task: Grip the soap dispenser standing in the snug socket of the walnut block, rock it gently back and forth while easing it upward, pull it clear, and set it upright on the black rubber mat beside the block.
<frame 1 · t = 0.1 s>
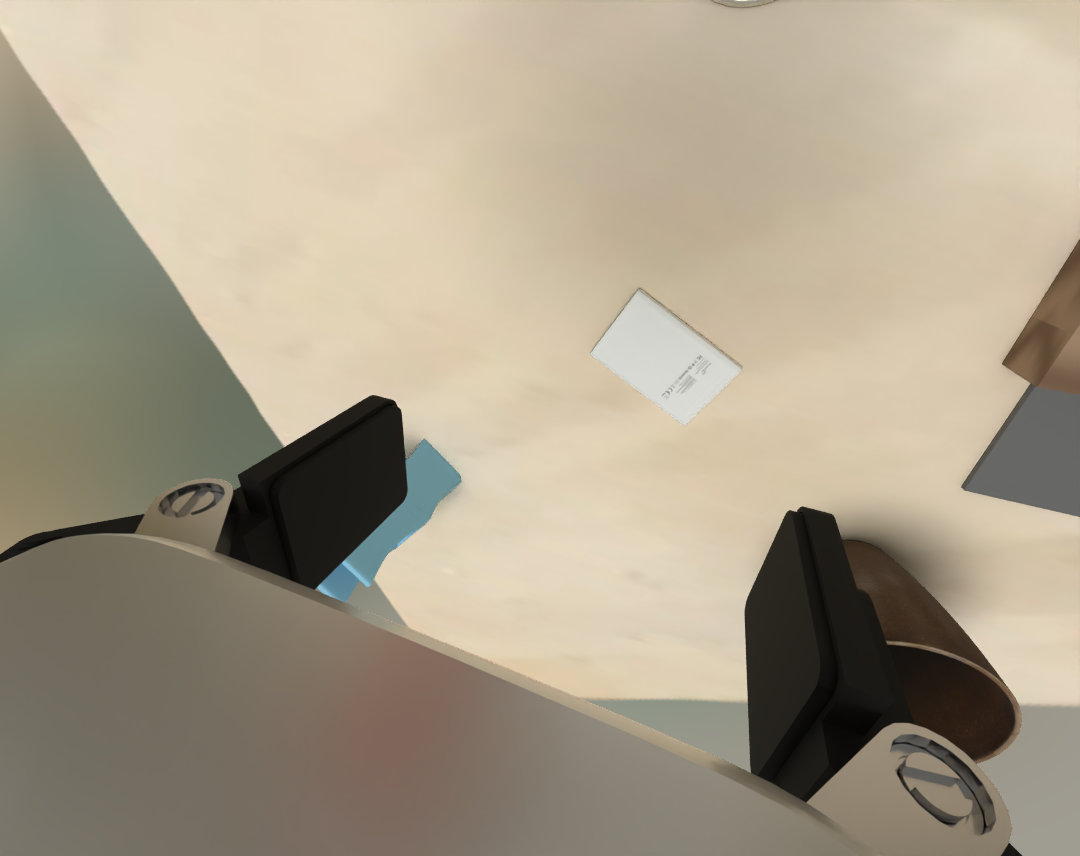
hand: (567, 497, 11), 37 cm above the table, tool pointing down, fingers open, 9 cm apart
light blue angular piece: (430, 472, 65), on the table
external hard drive: (663, 356, 47), on the table
rubber mat: (1076, 451, 37), on the table
plant pot: (849, 566, 49), on the table
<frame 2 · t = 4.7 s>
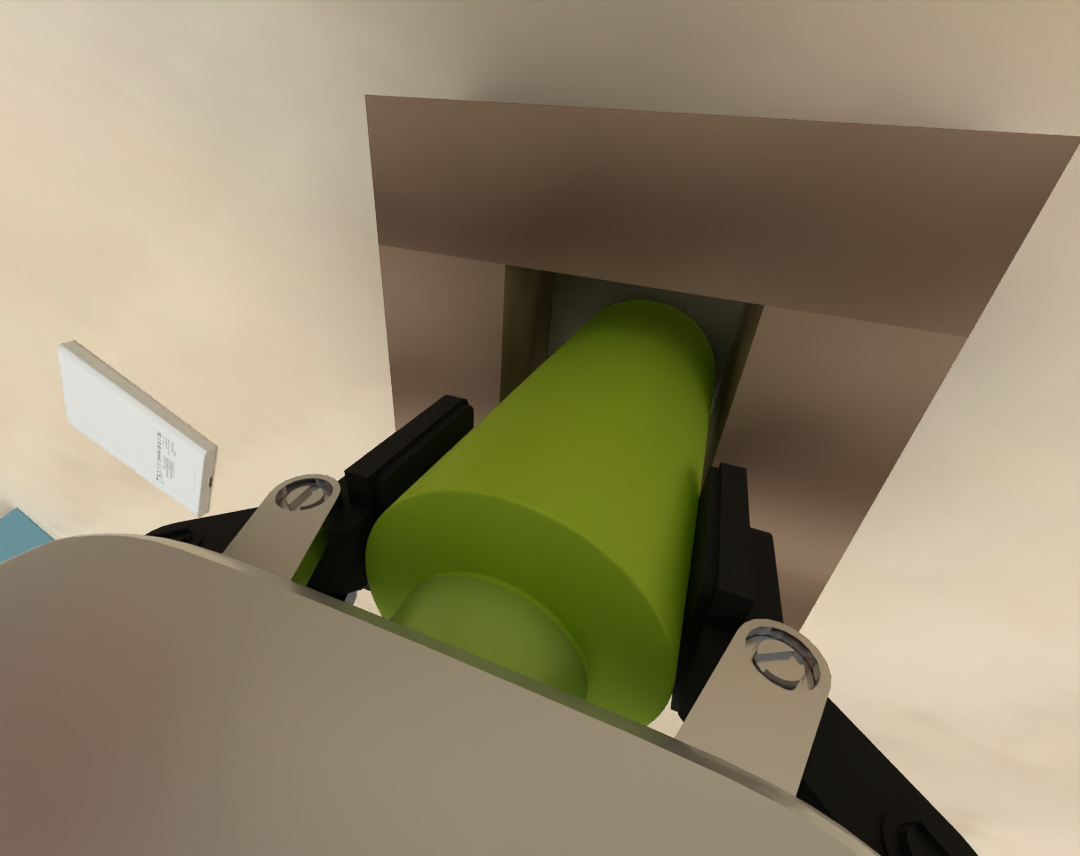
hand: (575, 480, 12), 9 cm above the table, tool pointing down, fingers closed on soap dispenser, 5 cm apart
soap dispenser: (631, 361, 19), resting in socket block, touching gripper
socket block: (630, 362, 19), on the table
light blue angular piece: (46, 545, 53), on the table
external hard drive: (156, 427, 35), on the table
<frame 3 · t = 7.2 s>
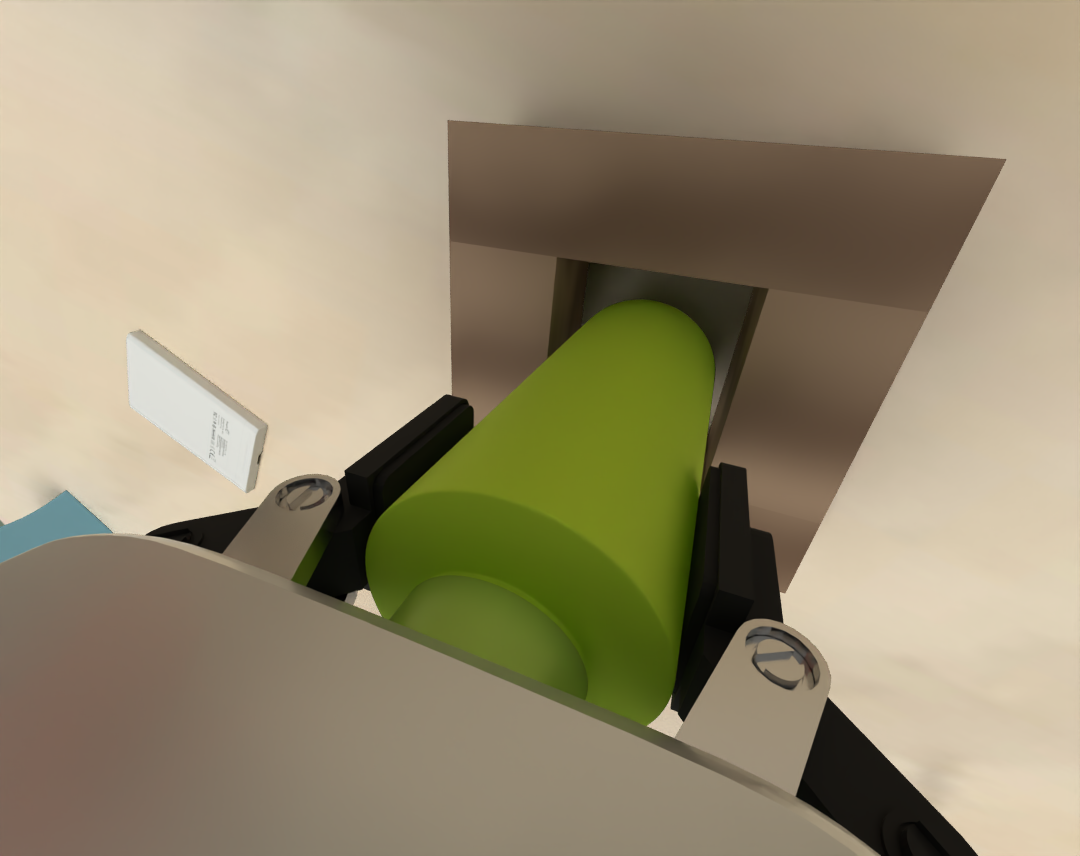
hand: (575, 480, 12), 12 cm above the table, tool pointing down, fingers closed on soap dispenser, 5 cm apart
soap dispenser: (630, 361, 19), point 3 cm above the table, touching gripper
socket block: (652, 344, 22), on the table
light blue angular piece: (91, 526, 56), on the table
external hard drive: (209, 410, 38), on the table
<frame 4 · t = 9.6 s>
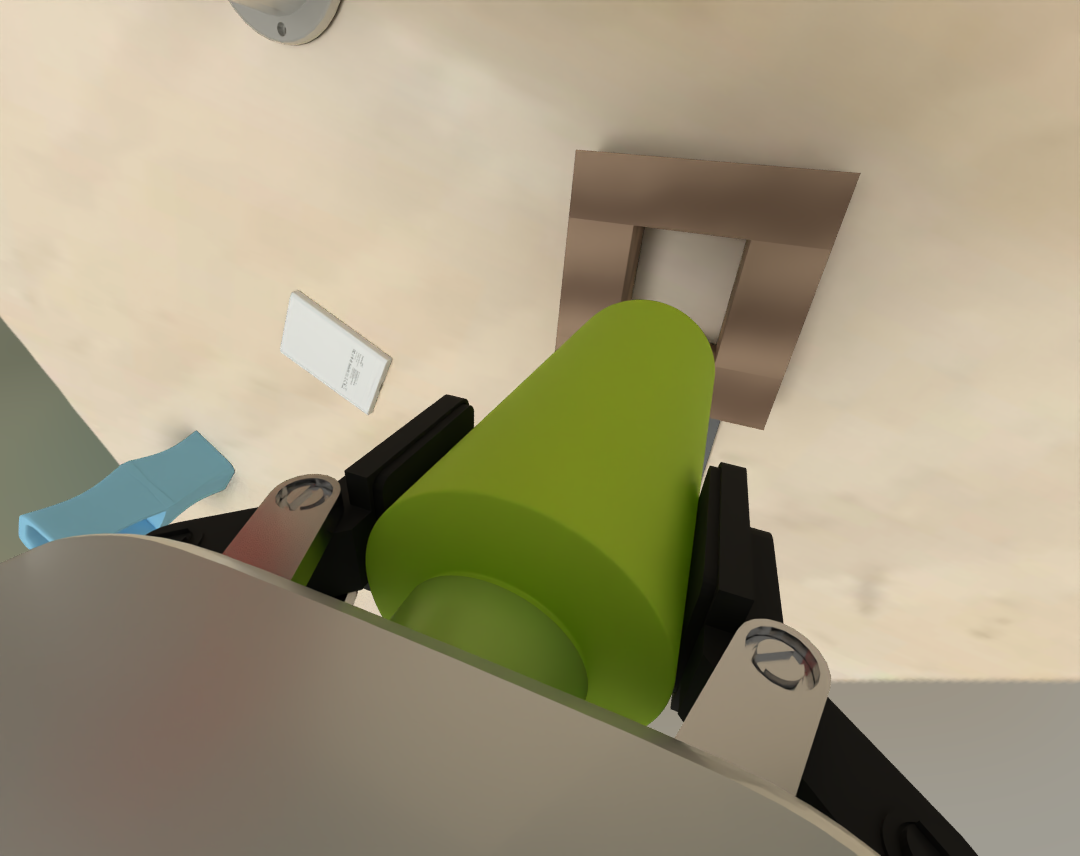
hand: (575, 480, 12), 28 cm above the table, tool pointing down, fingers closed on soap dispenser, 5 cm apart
soap dispenser: (630, 361, 19), point 19 cm above the table, touching gripper
socket block: (682, 284, 35), on the table
light blue angular piece: (211, 462, 69), on the table
external hard drive: (341, 352, 51), on the table
rubber mat: (645, 441, 42), on the table
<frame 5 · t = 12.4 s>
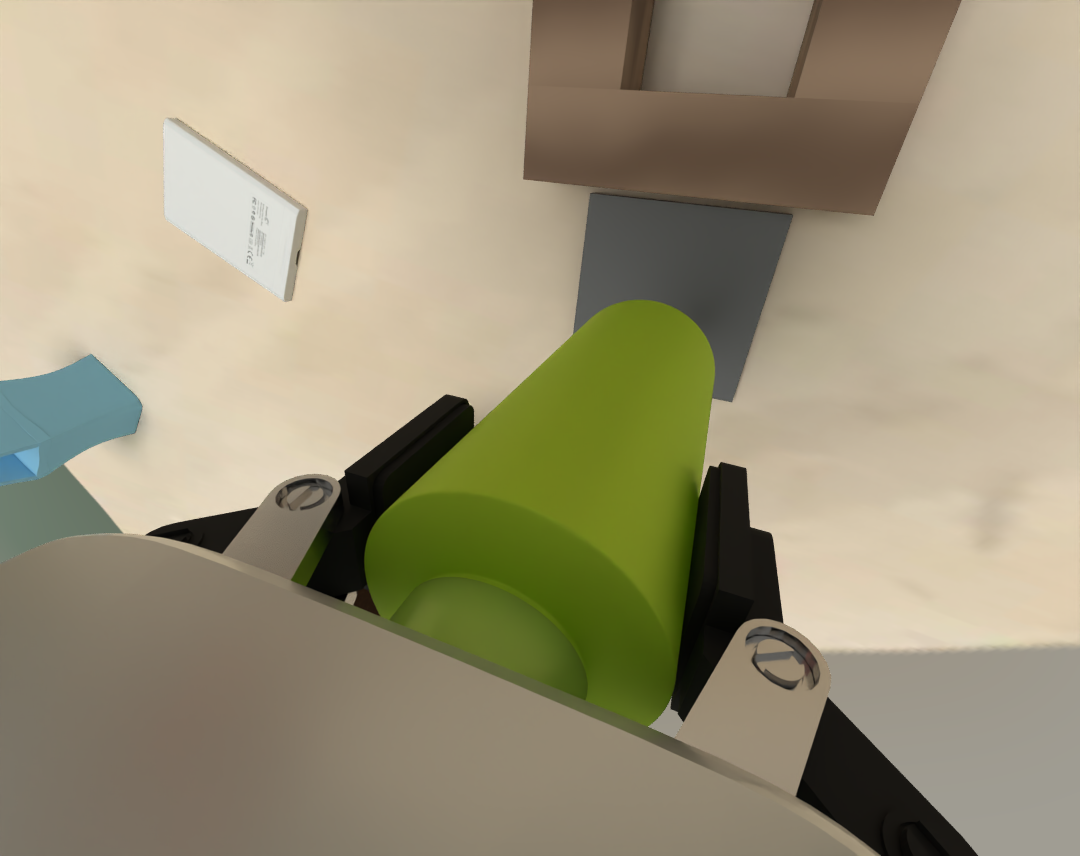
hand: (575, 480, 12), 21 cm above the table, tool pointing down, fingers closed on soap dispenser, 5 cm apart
soap dispenser: (630, 361, 19), point 12 cm above the table, touching gripper
socket block: (730, 3, 21), on the table
light blue angular piece: (115, 397, 56), on the table
external hard drive: (245, 214, 37), on the table
rubber mat: (665, 300, 28), on the table
plant pot: (507, 485, 40), on the table
when the fingers open (10 cm above the table, at t = 14.7 s): soap dispenser drops 1 cm, resting on rubber mat.
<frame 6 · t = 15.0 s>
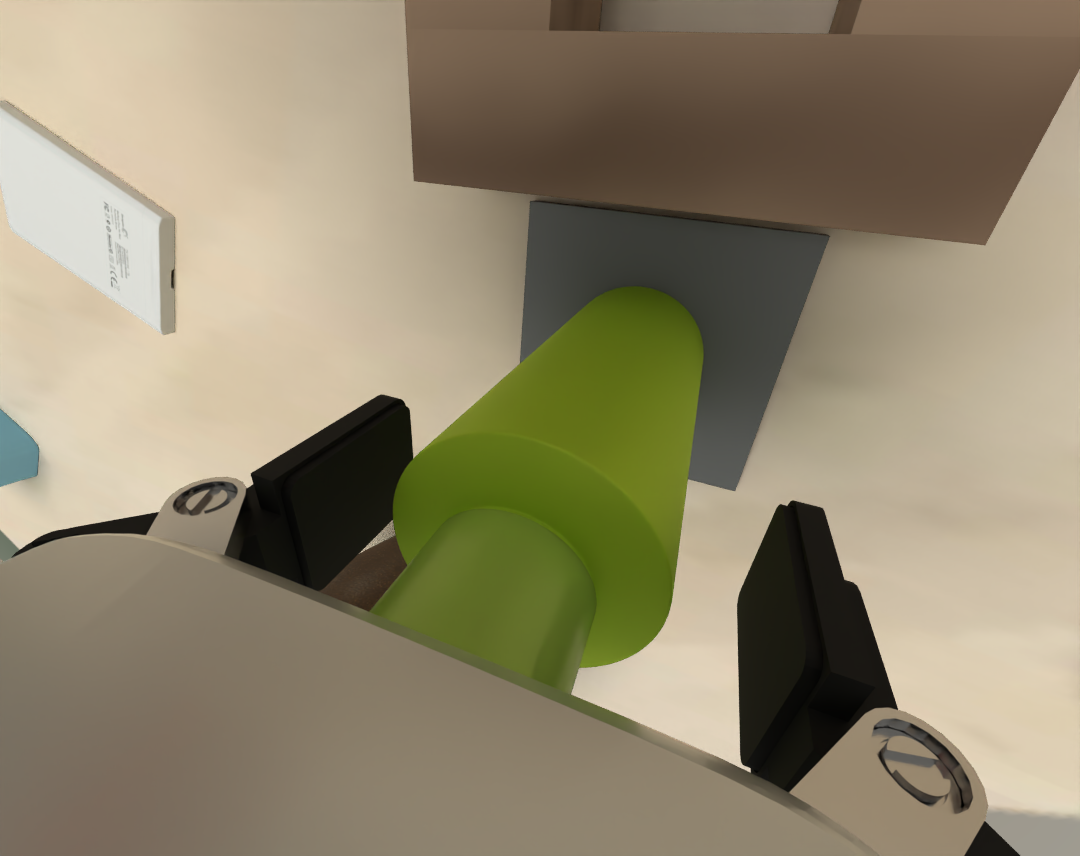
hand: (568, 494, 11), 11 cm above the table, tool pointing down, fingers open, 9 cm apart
soap dispenser: (624, 345, 20), resting on rubber mat
light blue angular piece: (10, 435, 47), on the table
external hard drive: (109, 224, 29), on the table
rubber mat: (641, 351, 20), on the table
plant pot: (451, 565, 32), on the table
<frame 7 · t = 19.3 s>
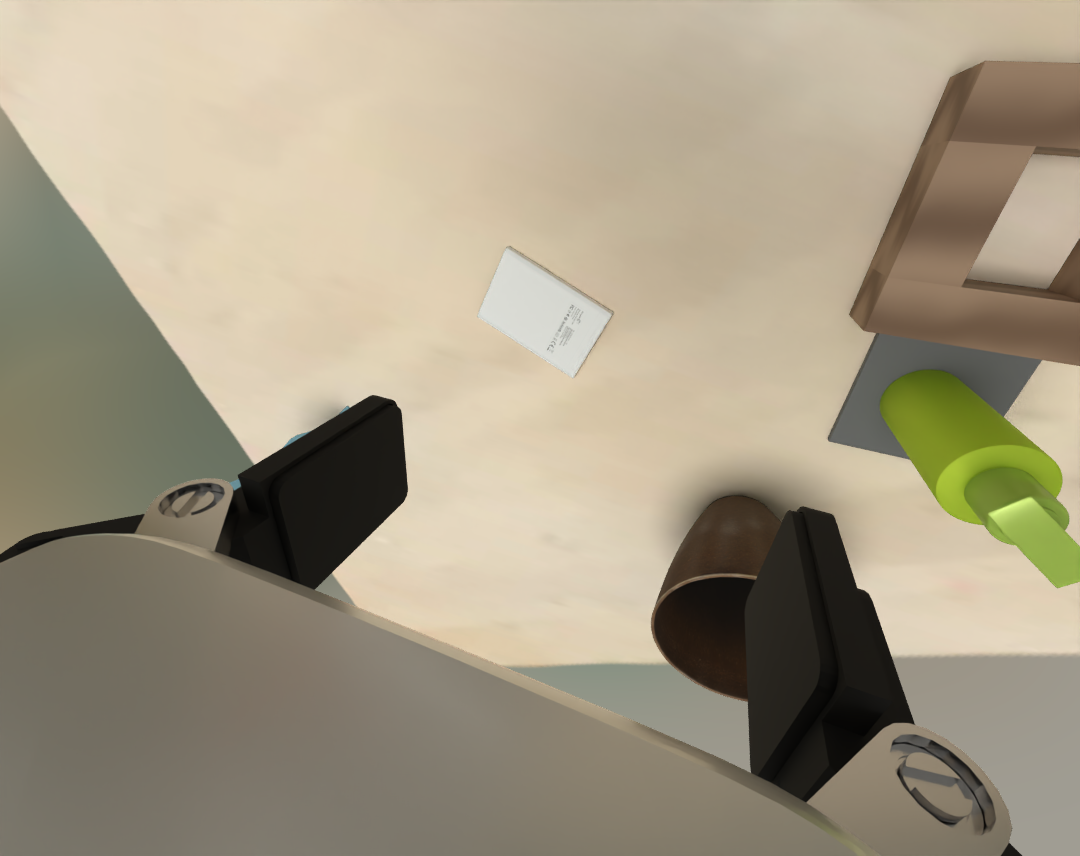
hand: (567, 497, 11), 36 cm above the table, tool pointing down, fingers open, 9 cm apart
soap dispenser: (916, 396, 39), resting on rubber mat
socket block: (1022, 222, 32), on the table
external hard drive: (546, 312, 48), on the table
rubber mat: (923, 399, 39), on the table
plant pot: (738, 522, 51), on the table
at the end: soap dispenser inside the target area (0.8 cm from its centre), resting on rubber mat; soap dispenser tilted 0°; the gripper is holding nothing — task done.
